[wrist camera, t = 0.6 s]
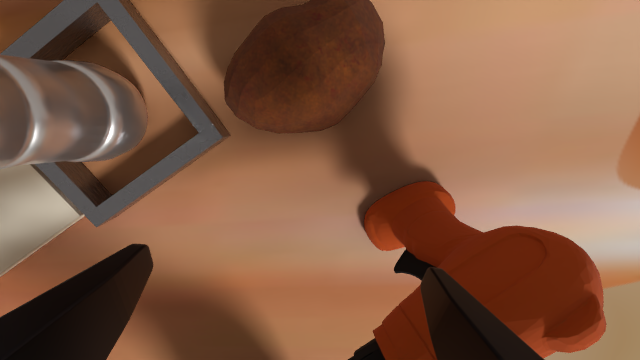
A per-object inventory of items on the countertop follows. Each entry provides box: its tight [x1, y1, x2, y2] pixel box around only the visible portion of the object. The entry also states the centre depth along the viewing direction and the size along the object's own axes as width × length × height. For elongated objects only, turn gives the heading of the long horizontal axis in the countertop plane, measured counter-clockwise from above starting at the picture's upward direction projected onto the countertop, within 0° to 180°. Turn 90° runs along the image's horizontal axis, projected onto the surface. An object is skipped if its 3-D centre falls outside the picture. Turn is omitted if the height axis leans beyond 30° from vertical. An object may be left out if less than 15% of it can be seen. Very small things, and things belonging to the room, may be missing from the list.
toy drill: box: [348, 181, 606, 360], centre depth 16 cm, size 5×19×15 cm, turn 119°
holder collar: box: [0, 0, 231, 227], centre depth 20 cm, size 12×12×2 cm
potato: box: [224, 0, 385, 133], centre depth 17 cm, size 8×12×8 cm, turn 125°
